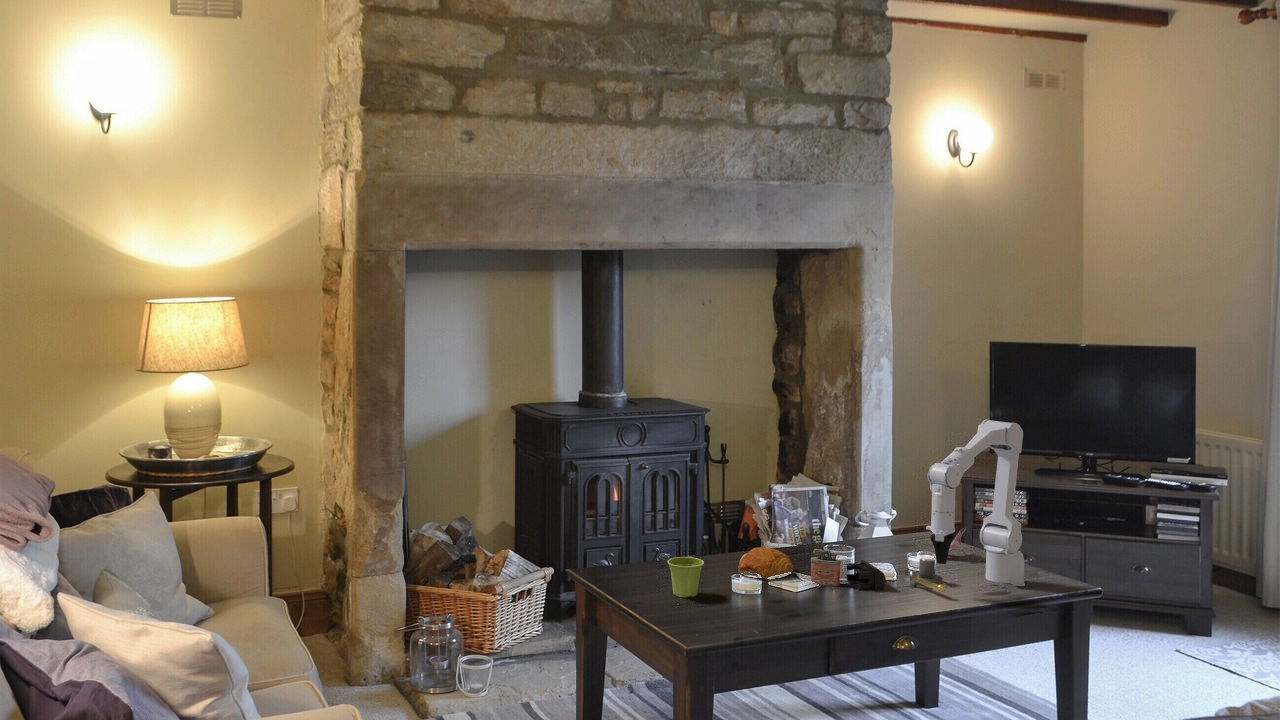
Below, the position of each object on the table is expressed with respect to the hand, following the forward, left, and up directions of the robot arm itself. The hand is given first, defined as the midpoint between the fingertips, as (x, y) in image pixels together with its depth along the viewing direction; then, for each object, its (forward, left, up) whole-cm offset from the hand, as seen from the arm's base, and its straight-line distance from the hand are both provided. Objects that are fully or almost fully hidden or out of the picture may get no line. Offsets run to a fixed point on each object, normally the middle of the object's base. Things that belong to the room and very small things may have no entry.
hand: (941, 563), depth 286 cm
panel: (-1, -10, -9) cm, 14 cm away
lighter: (+27, -13, -10) cm, 31 cm away
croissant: (+40, -28, -10) cm, 50 cm away
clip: (+3, -3, -8) cm, 9 cm away
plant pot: (+65, -9, -10) cm, 66 cm away
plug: (0, -11, -8) cm, 14 cm away
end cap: (+17, -10, -10) cm, 22 cm away
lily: (-20, -40, -10) cm, 46 cm away
